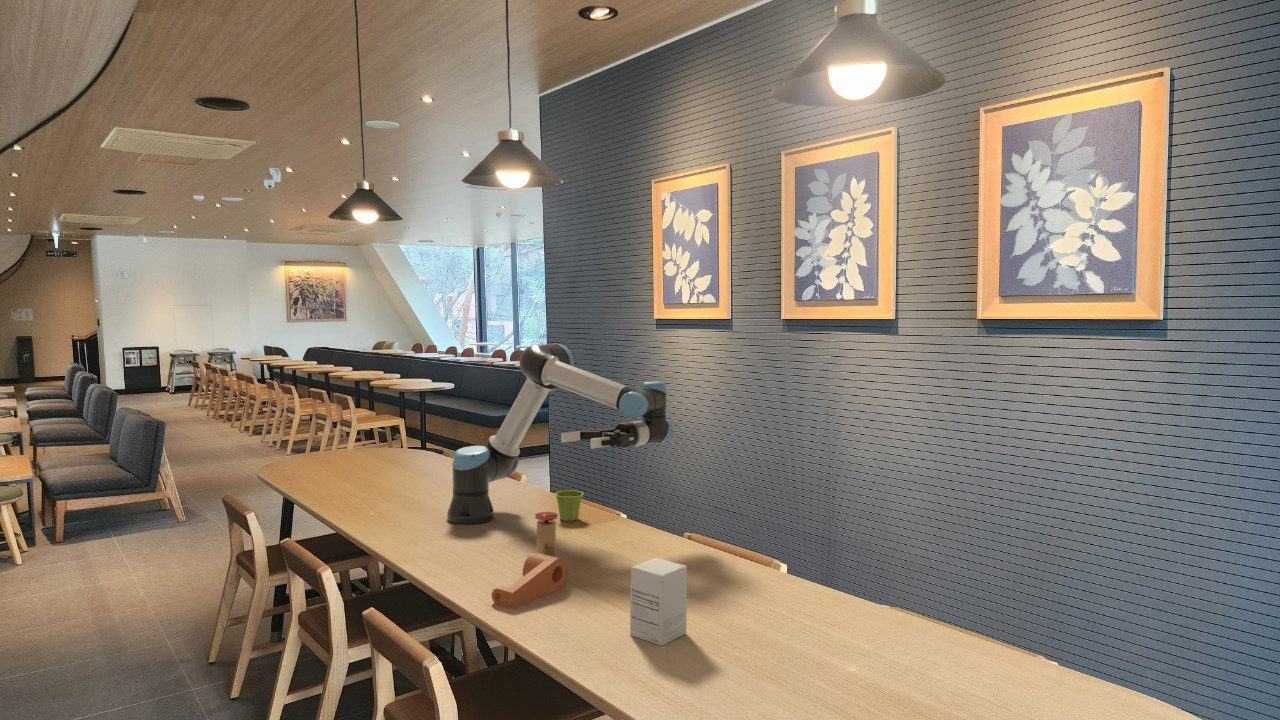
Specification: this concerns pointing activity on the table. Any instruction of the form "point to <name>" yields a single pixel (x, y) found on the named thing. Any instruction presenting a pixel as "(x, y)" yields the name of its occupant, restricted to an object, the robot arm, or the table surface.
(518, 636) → the table surface
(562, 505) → the plant pot
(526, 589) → the orange holed part
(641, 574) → the supplement box
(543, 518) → the valve
